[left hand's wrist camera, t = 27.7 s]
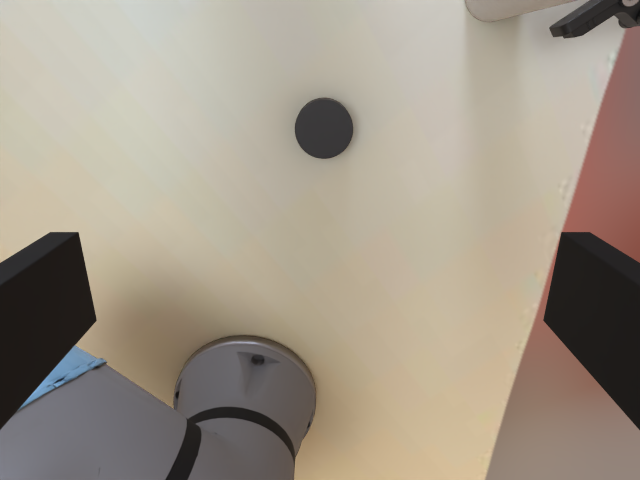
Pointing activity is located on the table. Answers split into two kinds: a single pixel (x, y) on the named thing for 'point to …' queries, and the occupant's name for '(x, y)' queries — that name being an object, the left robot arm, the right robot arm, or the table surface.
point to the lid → (323, 128)
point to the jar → (507, 7)
